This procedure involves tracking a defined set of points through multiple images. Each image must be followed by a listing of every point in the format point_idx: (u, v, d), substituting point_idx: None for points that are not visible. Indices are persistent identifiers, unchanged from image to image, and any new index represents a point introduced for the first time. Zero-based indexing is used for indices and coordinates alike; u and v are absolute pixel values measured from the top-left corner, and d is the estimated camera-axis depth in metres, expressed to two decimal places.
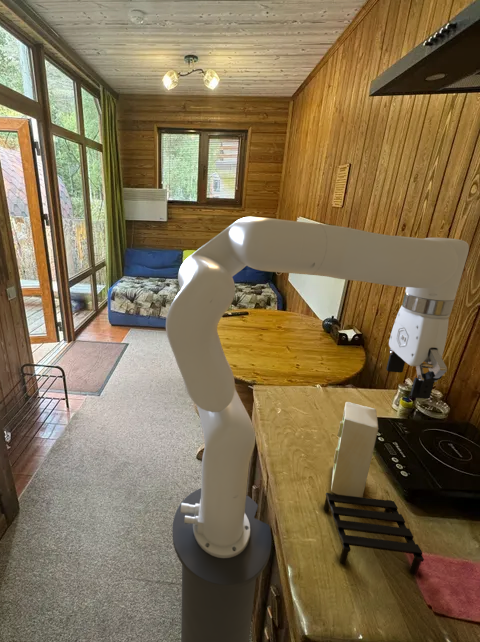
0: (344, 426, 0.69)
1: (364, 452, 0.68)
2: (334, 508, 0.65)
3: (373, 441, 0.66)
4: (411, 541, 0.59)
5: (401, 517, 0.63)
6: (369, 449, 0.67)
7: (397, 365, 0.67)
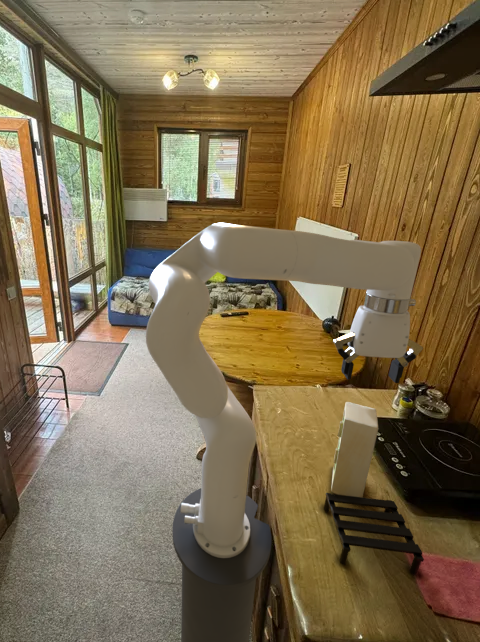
0: (344, 426, 0.69)
1: (364, 452, 0.68)
2: (334, 508, 0.65)
3: (373, 441, 0.66)
4: (411, 541, 0.59)
5: (401, 517, 0.63)
6: (369, 449, 0.67)
7: (393, 372, 0.66)
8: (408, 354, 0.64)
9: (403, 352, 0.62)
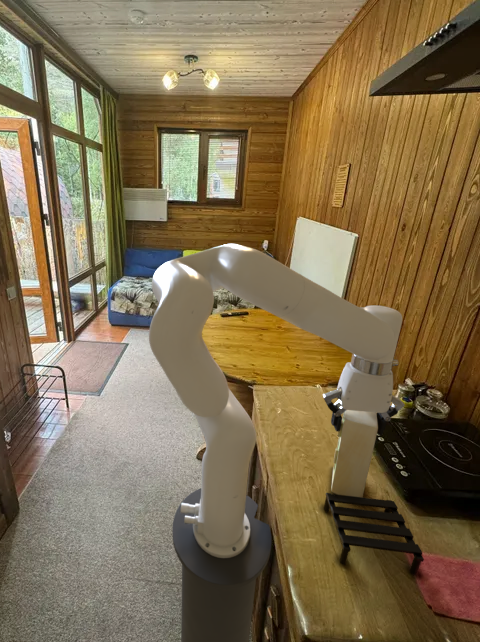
0: (344, 426, 0.69)
1: (364, 452, 0.68)
2: (334, 508, 0.65)
3: (373, 441, 0.66)
4: (411, 541, 0.59)
5: (401, 517, 0.63)
6: (369, 449, 0.67)
7: None
8: (391, 409, 0.69)
9: (387, 408, 0.67)
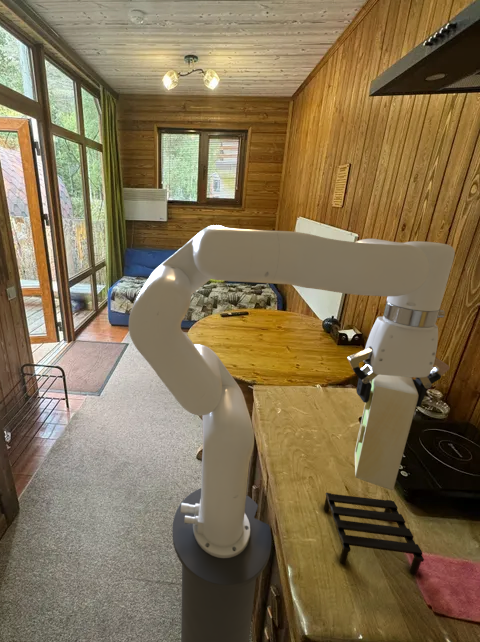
0: (374, 395, 0.56)
1: (399, 426, 0.55)
2: (334, 508, 0.65)
3: (411, 412, 0.53)
4: (411, 541, 0.59)
5: (401, 517, 0.63)
6: (406, 422, 0.54)
7: None
8: (431, 373, 0.56)
9: (429, 371, 0.54)
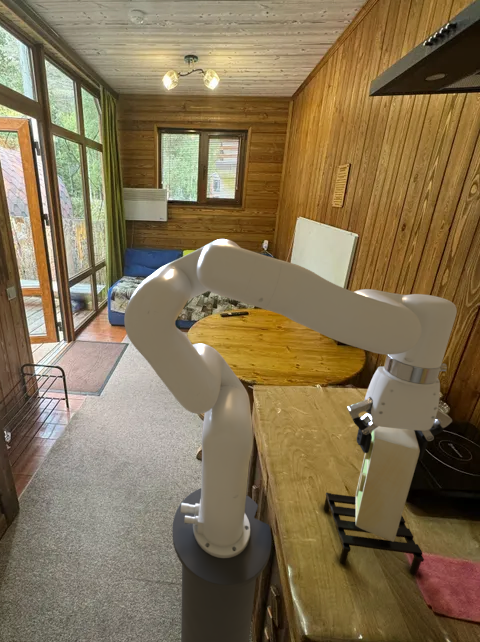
0: (375, 447, 0.54)
1: (400, 480, 0.54)
2: (334, 508, 0.65)
3: (413, 467, 0.52)
4: (411, 541, 0.59)
5: (401, 517, 0.63)
6: (407, 477, 0.53)
7: None
8: (434, 425, 0.54)
9: (430, 425, 0.52)
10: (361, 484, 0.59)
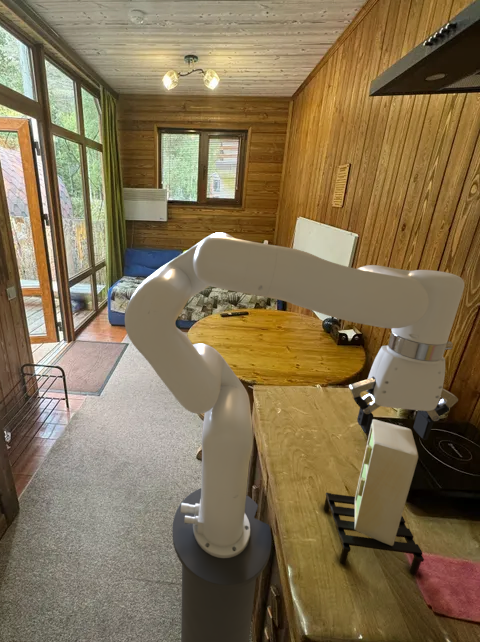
0: (373, 452, 0.55)
1: (399, 485, 0.54)
2: (334, 508, 0.65)
3: (411, 472, 0.53)
4: (411, 541, 0.59)
5: (401, 517, 0.63)
6: (406, 482, 0.53)
7: (420, 426, 0.55)
8: (439, 405, 0.53)
9: (435, 405, 0.51)
10: (360, 489, 0.59)
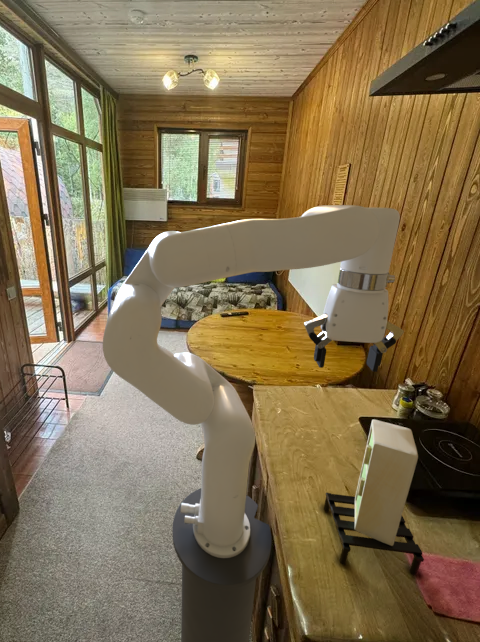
0: (373, 452, 0.55)
1: (398, 485, 0.54)
2: (334, 508, 0.65)
3: (411, 472, 0.53)
4: (411, 541, 0.59)
5: (401, 517, 0.63)
6: (406, 482, 0.53)
7: (371, 360, 0.58)
8: (387, 339, 0.57)
9: (381, 336, 0.55)
10: (360, 489, 0.59)
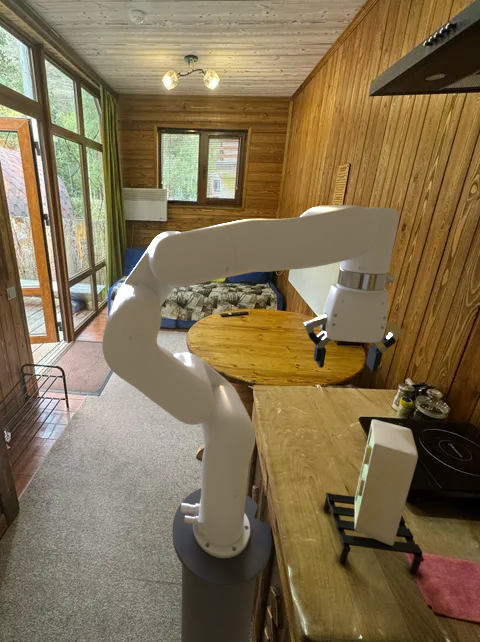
0: (373, 452, 0.55)
1: (398, 485, 0.54)
2: (334, 508, 0.65)
3: (411, 472, 0.53)
4: (411, 541, 0.59)
5: (401, 517, 0.63)
6: (406, 482, 0.53)
7: (371, 360, 0.58)
8: (387, 338, 0.57)
9: (381, 336, 0.55)
10: (360, 489, 0.59)
